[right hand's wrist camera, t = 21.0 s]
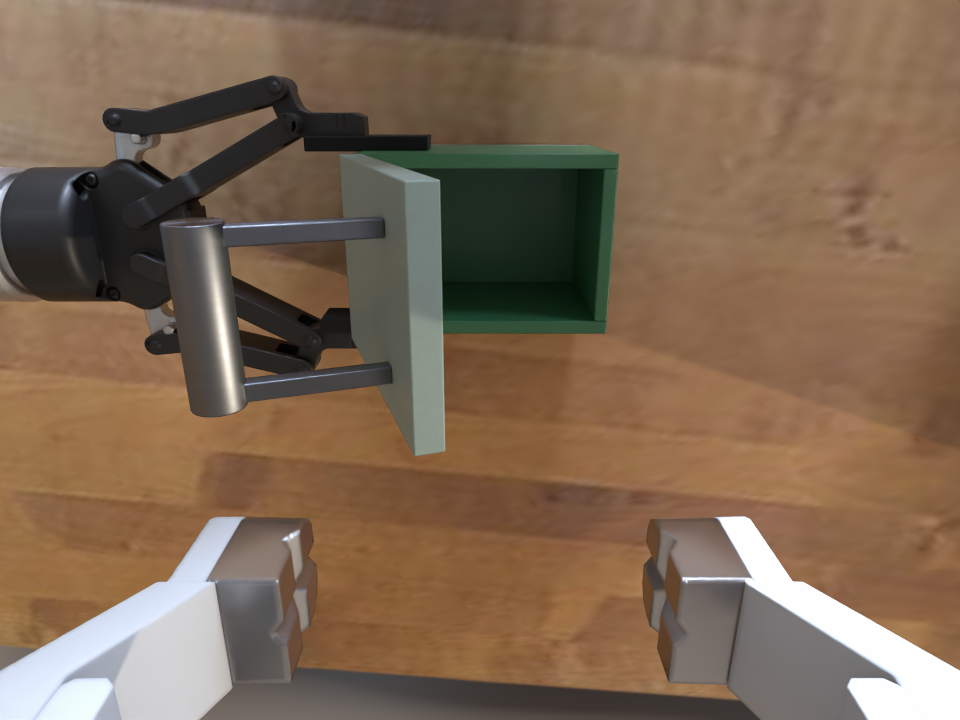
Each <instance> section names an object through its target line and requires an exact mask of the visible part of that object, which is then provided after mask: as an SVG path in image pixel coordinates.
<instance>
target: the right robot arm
mask: <svg viewBox="0 0 960 720" xmlns="http://www.w3.org/2000/svg"><path fill="white" fill-rule="evenodd" d="M313 542H314V539H313V532H312V525H311V522H310V521H309V519H308V518H272V517H246V518H245V517H214V518H212V519H210V520H209V521H208V522H207V523H206V525H205V526H204V528H203V529H202V531H201V532H200V534H199V535H198V537H197V538H196V540H195V541H194V543H193V544H192V546H191V547H190V549H189V550H188V552H187V553H186V555H185V556H184V558H183V559H182V560H181V562H180V563H179V565H178V566H177V568H176V569H175V571H174V572H173V574H172V575H171V577H170V578H169V580H168V581H167V582H156V583H154V584H153V585H151V586H149V587H147V588H146V589H144V590H142V591H140V592H138V593H137V594H135V595H133V596H131V597H130V598H128V599H126V600H124V601H123V602H121V603H119V604H117V605H115V606H114V607H112V608H110V609H108V610H107V611H105V612H103V613H101V614H99V615H98V616H96V617H94V618H92V619H91V620H89V621H87V622H85V623H84V624H82V625H80V626H78V627H76V628H75V629H73V630H71V631H69V632H68V633H66V634H64V635H62V636H61V637H59V638H57V639H55V640H53V641H52V642H50V643H48V644H46V645H45V646H43V647H41V648H39V649H38V650H36V651H34V652H32V653H30V654H29V655H27V656H25V657H23V658H22V659H20V660H18V661H16V662H15V663H13V664H11V665H9V666H7V667H6V668H4V669H2V670H0V720H200V719H201V718H202V717H203V716H204V715H205V714H206V713H207V712H208V711H209V710H210V709H211V708H212V707H213V706H214V705H215V704H216V703H217V702H218V701H220V700H221V699H222V698H223V697H224V696H225V695H226V694H227V693H228V692H229V691H230V690H231V689H232V685H242V684H276V683H291V682H292V679H293V676H294V673H295V670H296V667H297V664H298V661H299V658H300V655H301V652H302V649H303V645H302V635H301V633H302V632H303V631H304V630H306V629H307V628H308V627H309V626H310V625H311V622H312V619H313V615H314V612H315V606H316V599H317V567H316V564H315V563H314V562H313V561H312V560H311V559H310V558H309V557H308V555H309V553H310V550H311V547H312V545H313ZM646 542H647V545H648V548H649V550H650V553H651V558H650V559H649V560H648V561H647V562H646V563H645V564H644V567H643V581H642V585H643V601H644V606H645V612H646V615H647V619H648V622H649V625H650V627H652V628H653V629H654V630H656V631H657V632H658V633H659V635H658V644H657V649H658V652H659V655H660V658H661V661H662V664H663V667H664V670H665V673H666V676H667V679H668V682H669V683H682V684H718V685H728V686H727V688H728V689H729V690H730V691H731V692H732V693H734V694H735V695H736V696H737V697H738V698H739V699H740V700H741V701H742V702H743V703H744V704H745V705H746V706H747V707H748V708H749V709H750V710H751V711H752V712H753V713H754V714H755V715H756V716H758V717H759V718H760V719H761V720H960V671H959V670H957V669H956V668H954V667H952V666H950V665H949V664H947V663H945V662H943V661H941V660H940V659H938V658H936V657H934V656H933V655H931V654H929V653H927V652H926V651H924V650H922V649H920V648H919V647H917V646H915V645H913V644H911V643H910V642H908V641H906V640H904V639H903V638H901V637H899V636H897V635H896V634H894V633H892V632H890V631H889V630H887V629H885V628H883V627H881V626H880V625H878V624H876V623H874V622H873V621H871V620H869V619H867V618H866V617H864V616H862V615H860V614H859V613H857V612H855V611H853V610H851V609H850V608H848V607H846V606H844V605H843V604H841V603H839V602H837V601H836V600H834V599H832V598H830V597H829V596H827V595H825V594H823V593H821V592H820V591H818V590H816V589H814V588H813V587H811V586H809V585H807V584H806V583H804V582H793V581H792V580H791V578H790V577H789V575H788V574H787V573H786V571H785V570H784V568H783V567H782V565H781V564H780V562H779V561H778V559H777V558H776V556H775V555H774V553H773V552H772V551H771V549H770V548H769V546H768V545H767V543H766V542H765V540H764V539H763V537H762V536H761V534H760V533H759V531H758V530H757V529H756V527H755V526H754V524H753V523H752V521H751V520H750V519H749V518H747V517H745V516H741V517H714V518H686V519H650V522H649V525H648V530H647V539H646Z"/></svg>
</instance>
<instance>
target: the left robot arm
mask: <svg viewBox="0 0 960 720" xmlns="http://www.w3.org/2000/svg"><path fill="white" fill-rule="evenodd" d="M297 92H298V90H297V86H296V84H295V82H294V81H293V80H291V79H289V78H285V77H280V76H268V77H264V78H261V79H257V80H254V81H250V82H247V83H243V84H240V85H236V86H233V87H229V88H226V89H222V90H219V91H215V92H212V93H208V94H205V95H201V96H198V97H194V98H191V99H187V100H184V101H180V102H177V103H173V104H170V105H166V106H163V107H159V108H156V109H152V110H147V109H138V108H109V109H107V110H106V111H105V112H104V114H103V122H104V125H105V126H106V127H107V128H108V129H109V130H110V131H113V132H114V137H115V148H116V159H117V160H115V161H113V162H111V163H110V164H108V165H106V166H104V167H35V168H30V169H27V170H25V169H22V168H19V167H0V301H10V302H35V301H39V300H47V301H122V302H127V303H130V304H132V305H134V306H136V307H138V308H141V309H144V311H145V315H146V318H147V322H148V325H149V329H150V332H151V335H150V336H149V337H148V338H147V339H146V340H145V347H146V349H147V351H148V352H150V353H152V354H154V355H161V354H172V353H181V350H180V344H179V338H178V332H177V327H176V321H175V315H174V311H172V310H171V309H170V308H169V307H168V305H167V302H168V301H169V300H171V299H172V297H171V291H170V285H169V279H168V273H167V267H166V261H165V255H164V249H163V243H162V237H161V232H160V223H162V222H165V221H169V220H174V219H182V218H206V211H205V206H201V204H200V202H199V201H198V200H199V199H201V198H202V197H204V196H206V195H208V194H209V193H211V192H213V191H214V190H216V189H217V188H218V187H219V186H221V185H223V184H225V183H226V182H228V181H230V180H231V179H233V178H235V177H236V176H238V175H240V174H241V173H243V172H245V171H246V170H248V169H250V168H251V167H253V166H255V165H257V164H258V163H260V162H262V161H263V160H265V159H267V158H268V157H270V156H272V155H273V154H275V153H277V152H278V151H280V150H282V149H284V148H285V147H287V146H289V145H290V144H292V143H294V142H295V141H297V140H299V139H300V138H302V137H304V148H305V151H428V150H429V149H431V135H369V127H368V117H367V116H365V115H363V114H360V113H314V112H311V111H309V110H307V109H306V108H305V107H304V106H303V104H302V102H301V100H300V98H299V95H298V93H297ZM271 106H273V108H274V111H275V113H276V115H277V117H278V118H277V119H275V120H273V121H272V122H270V123H268V124H267V125H265V126H264V127H262V128H260V129H259V130H257V131H255V132H254V133H252V134H250V135H249V136H247V137H245V138H244V139H242V140H240V141H239V142H237V143H235V144H234V145H232V146H230V147H229V148H227V149H225V150H224V151H222V152H220V153H219V154H217V155H215V156H214V157H212V158H210V159H209V160H207V161H205V162H204V163H202V164H200V165H199V166H197V167H196V168H194V169H192V170H191V171H189V172H187V173H184V174H182V175H180V176H178V177H176V178H175V179H173V180H172V179H170V178H169V177H167V176H166V175H164V174H163V173H161V172H160V171H158V170H157V169H155V168H154V167H152V166H151V165H149V164H148V163H146V162H145V161H143V154H144V152H145V151H146V150H148V149H152V148H156V147H157V146H158V145H159V144H160V139H161V136H160V134H169V133H177V132H182V131H186V130H189V129H193V128H197V127H200V126H204V125H207V124H211V123H214V122H218V121H221V120H225V119H228V118H232V117H236V116H239V115H243V114H246V113H250V112H253V111H257V110H260V109H264V108H267V107H271ZM232 282H233V289H234V297H235V304H236V312H237V317H239V318H241V319H243V320H245V321H247V322H250V323H252V324H254V325H256V326H258V327H260V328H262V329H264V330H266V331H268V332H270V333H273V334H275V335H277V336H279V337H281V338H283V339H285V340H287V341H284V340H280V339H276V338H272V337H267V336H263V335H259V334H255V333H250V332H246V331H242V330H239V334H240V342H241V349H242V357H243V364H244V366H247V367H251V368H256V369H260V370H264V371H269V372H273V373H277V374H286V373H294V372H303V371H311V370H315V368H316V366H317V365H318V363H319V362H320V359H321V354H322V351H323V350H324V349H328V348H357V347H356V345H355V343H354V341H353V339H352V333H351V318H350V308H329V309H328V311H327V312H326V313H325V315H324V316H323V317H322V319H319V318H317V317H315V316H313V315H311V314H309V313H307V312H305V311H303V310H301V309H299V308H297V307H295V306H293V305H290V304H288V303H286V302H284V301H282V300H280V299H278V298H276V297H274V296H272V295H270V294H268V293H266V292H264V291H262V290H260V289H258V288H256V287H254V286H252V285H250V284H248V283H246V282H243V281H241V280H239V279H237V278H235V277H233V276H232ZM288 341H289V342H288Z"/></svg>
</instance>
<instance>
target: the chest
mask: <svg viewBox="0 0 960 720" xmlns="http://www.w3.org/2000/svg"><path fill="white" fill-rule="evenodd" d="M354 154H363V155H366V156H369V157H372V158H375V159H378V160H381V161H384V162H387V163H390V164H393V165H396V166H399V167H402V168H405V169H408V170H411V171H414V172H417V173H420V174H423V175H426V176H429V177H432V178H435V179H438V180H440V205H441V257H442V310H443V333H521V334H605V333H606V328H607V314H608V300H609V286H610V273H611V259H612V245H613V231H614V218H615V204H616V190H617V176H618V169H617V168H618V164H619V154H617V153H614V152H611V151H607V150H604V149H601V148H597V147H594V146H592V145H589V144H431V149H429V150H428V151H360V152H357V153H354Z"/></svg>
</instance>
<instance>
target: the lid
mask: <svg viewBox="0 0 960 720" xmlns="http://www.w3.org/2000/svg"><path fill="white" fill-rule="evenodd" d="M339 162H340V177H341V191H342V205H343V218H331V219H310V220H289V221H269V222H248V223H227V224H225V222H224V220H222V219H218V218H182V219H174V220H169V221H165V222H162V223H160V232H161V237H162V243H163V249H164V255H165V261H166V267H167V273H168V279H169V285H170V291H171V297H172V303H173V309H174V315H175V321H176V327H177V332H178V338H179V344H180V350H181V356H182V362H183V368H184V374H185V380H186V386H187V392H188V398H189V404H190V410H191V412H192V413H193V414H195V415H197V416H201V417H221V416H226V415H230V414H233V413H236V412H238V411H240V410H242V409H244V408H245V407H246V406H247V404H248V402H252V401H260V400H268V399H275V398H283V397H291V396H299V395H307V394H314V393H322V392H330V391H338V390H346V389H353V388H361V387H369V386H377V387H378V388H379V390H380V392H381V394H382V396H383V398H384V400H385V402H386V404H387V406H388V407H389V409H390V411H391V413H392V415H393V417H394V419H395V421H396V423H397V425H398V426H399V428H400V430H401V432H402V434H403V436H404V438H405V440H406V442H407V444H408V445H409V447H410V449H411V451H412V453H413V455H414V456H421V455H427V454H433V453H439V452H444V451H445V414H444V362H443V310H442V257H441V205H440V180H438V179H435V178H432V177H429V176H426V175H423V174H420V173H417V172H414V171H411V170H408V169H405V168H402V167H399V166H396V165H393V164H390V163H387V162H384V161H381V160H378V159H375V158H372V157H369V156H366V155H363V154H340V155H339ZM343 240H345V248H346V262H347V276H348V290H349V304H350V318H351V333H352V339H353V341H354V343H355V345H356V347H357V349H358V350H359V352H360V354H361V356H362V358H363V360H364V362H365V364H362V365H354V366H345V367H337V368H328V369H320V370H311V371H303V372H294V373H286V374H277V375H269V376H260V377H252V378H245V372H244V364H243V357H242V349H241V342H240V334H239V327H238V319H237V312H236V304H235V297H234V289H233V282H232V275H231V267H230V260H229V252H228V247H241V246H258V245H275V244H292V243H309V242H326V241H343Z"/></svg>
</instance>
